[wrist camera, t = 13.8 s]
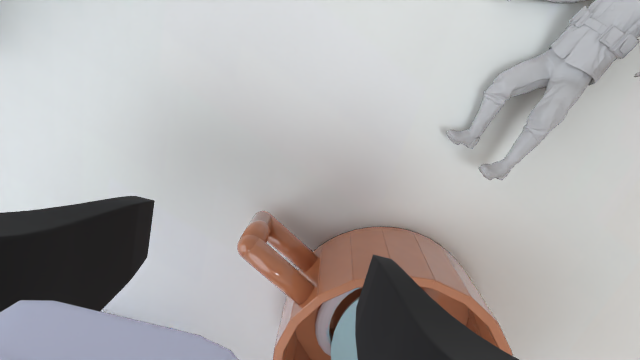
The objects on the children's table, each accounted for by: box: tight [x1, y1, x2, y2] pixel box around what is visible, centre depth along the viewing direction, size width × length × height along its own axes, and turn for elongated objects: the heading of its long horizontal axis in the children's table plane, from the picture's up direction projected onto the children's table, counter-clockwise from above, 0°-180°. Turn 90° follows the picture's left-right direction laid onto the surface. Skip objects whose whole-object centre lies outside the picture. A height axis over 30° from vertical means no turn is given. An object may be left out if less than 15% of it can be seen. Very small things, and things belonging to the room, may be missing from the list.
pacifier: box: [315, 287, 362, 360], centre depth 20 cm, size 7×6×6 cm
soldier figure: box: [446, 0, 640, 180], centre depth 17 cm, size 8×5×12 cm
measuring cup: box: [237, 211, 512, 360], centre depth 20 cm, size 15×11×6 cm
